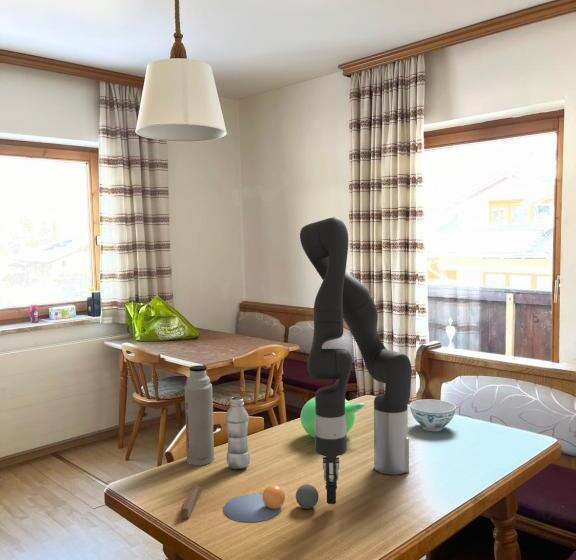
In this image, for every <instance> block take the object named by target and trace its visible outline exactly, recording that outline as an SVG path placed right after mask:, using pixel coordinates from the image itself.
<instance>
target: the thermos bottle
mask: <svg viewBox="0 0 576 560" xmlns="http://www.w3.org/2000/svg"><path fill="white" fill-rule="evenodd" d="M207 367H208V366H206V365H200V364H198V365H192V366H190V367H189V376H188V377H187V378H186V385H184V404H185V405H184V406H185V407H184V408H185V411H184V414H185V439H186V440H185V444H186V463H188V464H189V463H190V464H189V465H191V464H193V465H192V466H206V465H209V464H211V463H213V462H214V460H215V442H214V441H215V440H214V406H213V403H214V401H213V398H214V397H213V384H212V383H211V379H210V377H209V376H208V374H207V370H208V369H207ZM208 463H209V464H208ZM205 464H206V465H205Z"/></svg>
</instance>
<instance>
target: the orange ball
mask: <svg viewBox="0 0 576 560" xmlns="http://www.w3.org/2000/svg"><path fill="white" fill-rule="evenodd" d="M262 494H263V495H262V499H263V502H264V504H265V505H266V506H267V507H268V508H270V509H277V508H279V507H281V506H283V504H284V503H285V500H286V494H285V491H284V489H283V488H282V487H281V486H280V485H277V484H271V485H270V484H269V485H268V486H267V487H265V488H264V490H263V492H262Z"/></svg>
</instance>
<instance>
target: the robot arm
mask: <svg viewBox="0 0 576 560" xmlns="http://www.w3.org/2000/svg"><path fill="white" fill-rule="evenodd" d="M299 238H300V239H299V240H300V241H299V242H300V244H301V247H302V250H303V252H304V254H305V255H306V257H307V258H308V260H309V261H310V263H311V264H312V266H313V267H314V269H315V271H316V272H317V274H318V275H319V277H320V278H321V280H322V282H321V284H320V287H319V288H318V291H317V293H316V296H315V300H314V303H313V337H312V342H311V347H310V350H309V354H308V358H307V362H306V368H307V372H308V374H309V376H310V377H311V378H312V379H314V380H315V379H316V380H326V379H327V380H329V379H330V380H336V381H335V382H334V383H333V384H331V385H329V386H324V387H321V388H320V387H319V388H318V389H317V390H316V392H315V396H314V397H315V410H316V416H315V437H314V450H315V453H317V454H318V455H319V456H322V469H323V480H324V481H325V490H326V504H328V505H335V504H337V489H338V486H337V485H338V483H337V482H338V481H339V470H340V456H343V455H344V454H346V452H347V450H348V447H347V433H346V417H345V399H346V392H347V386H348V382H349V380H350V379H349V378H350V376H351V373H352V369H353V357H352V354H351V353H350V352H349V350H348V349H346V348H323V345H324V344H325V343H326V342H330V341H334V340H337V339H340V338H342V337H343V335H344V323H345V324H346V326H347V327H348V329H349V331H350V334H351V336H352V337H353V339H354V341H355V343H356V345H357V347H358V349H359V352H360V354H361V357H362V360H363V362H364V365H365V367H366V370H367V372H368V374H369V376H370V377H371V378H372V379H373V380H375V381H376V382H379V383H383V384H385V386H384V393H382V394H379V395H376V396H375V397H374V399H373V463H374V470H376V472H378V473H381V474H384V475H390V476H391V475H392V476H393V475H401V474H405V473H410V439H409V436H408V434H409V432H408V427H409V426H408V425H409V424H408V421H409V420H408V419H409V417H408V414H409V413H408V407H409V401H410V399H411V393H412V392H411V389H412V386H411V385H412V364H411V361H410V358H409V356H407V354H405V353H402V352H400V351H393V350H390V349H388V348H387V347H386V346H385V345H384V343H383V342H382V339H381V338H380V335H379V333H378V320H379V319H378V318H379V312H378V308H377V306H376V304H375V302H374V300H373V297H372V296H371V294H370V291H369V290H368V288H367V287H366V286H365V285H364V284H363V283H362V282H361V281H359V280H358V279H357V278H355V277H354V276H353V275H351V274H349V273H348V272H346V270H347V262H348V253H349V233H348V228H347V226H346V224H345V222H344V221H343V220H342V219H341V218H339V217H335V216H333V217H329V218H325V219H321V220H318V221H315V222H311V223H308V224H305V225H303V227H302V228H301V229H300V232H299Z"/></svg>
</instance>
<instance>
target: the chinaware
mask: <svg viewBox="0 0 576 560" xmlns="http://www.w3.org/2000/svg"><path fill="white" fill-rule="evenodd" d="M409 409H410V411H411V412H410V413H411V415H412V417H413V419H414V420H415V421H416V423H418V424H419V425H421V427H422V429H423V430H424V431H428V432H440V431H443V429H444V427H446V426H447V425H448V424H450V422H451V421H452V420H453V418H454V416H455V413H456V409H457V407H456V405H455V404H454V403H452V402H449V401H446V400H440V399H429V398H427V399H417V400H413V401H412V402H410V404H409Z"/></svg>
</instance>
